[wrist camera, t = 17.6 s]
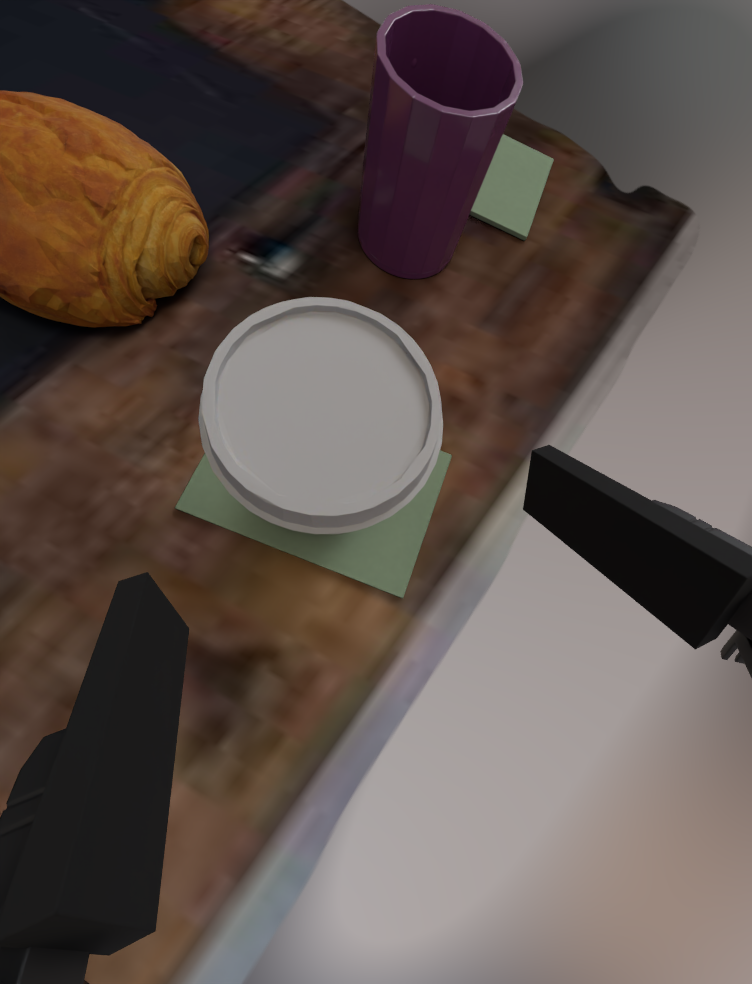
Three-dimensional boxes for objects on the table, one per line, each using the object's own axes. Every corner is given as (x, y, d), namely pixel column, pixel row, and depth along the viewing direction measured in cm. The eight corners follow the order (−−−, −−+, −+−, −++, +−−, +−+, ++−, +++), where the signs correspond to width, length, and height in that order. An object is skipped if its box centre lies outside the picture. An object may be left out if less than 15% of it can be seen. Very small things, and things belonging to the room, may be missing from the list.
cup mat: (176, 509, 23) (174, 508, 22) (252, 372, 25) (250, 369, 25) (401, 598, 24) (403, 598, 23) (450, 456, 26) (452, 455, 26)
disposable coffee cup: (223, 493, 23) (121, 415, 11) (312, 392, 25) (304, 243, 14) (339, 579, 23) (356, 589, 11) (417, 469, 25) (498, 384, 14)
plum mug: (469, 266, 31) (547, 106, 20) (382, 289, 29) (416, 125, 18) (415, 165, 32) (460, -33, 22) (328, 181, 30) (332, -29, 20)
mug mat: (365, 166, 31) (366, 161, 31) (406, 92, 34) (407, 86, 34) (524, 241, 32) (527, 237, 32) (551, 163, 35) (553, 158, 35)
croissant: (86, 175, 29) (-12, 25, 22) (247, 238, 28) (203, 100, 20) (-45, 295, 25) (-224, 161, 17) (136, 376, 24) (27, 269, 16)
